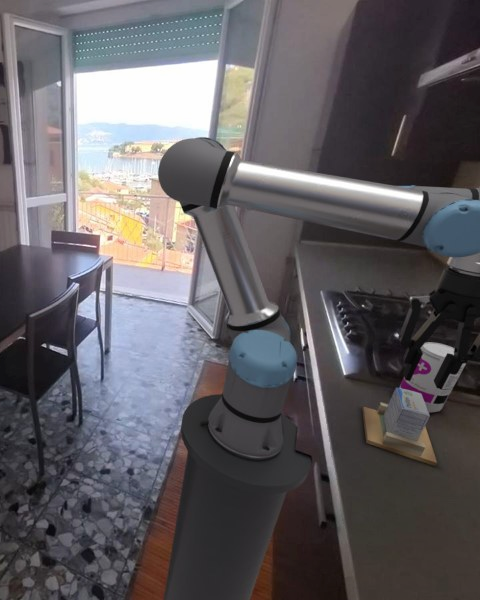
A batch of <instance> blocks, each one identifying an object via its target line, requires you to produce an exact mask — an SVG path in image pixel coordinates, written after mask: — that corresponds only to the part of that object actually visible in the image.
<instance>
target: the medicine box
mask: <svg viewBox="0 0 480 600" xmlns="http://www.w3.org/2000/svg"><path fill="white" fill-rule="evenodd" d="M387 404H388V406H387V409H386V411H385V413H384V416H383V418H384V423H385V427H386V431H387V432H389V433H392V434H395V435H398V436H401V437H404V438H408V439H411V440H414V441H418V439H419V437H420V435H421V433H422V431H423V429H424V427H426V425H427V423H428V421H429V419H430V416H431V415H430V413H429V412H428V409H427V407H426V404H425V402H424V399H423V396H422V394H421V393H417V392H414V391H410V390H406V389H402V388H399V387H395V388H394V390H393V393H392V395H391V397H390V400H389V402H388V403H387Z"/></svg>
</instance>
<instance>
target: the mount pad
mask: <svg viewBox="0 0 480 600" xmlns="http://www.w3.org/2000/svg"><path fill="white" fill-rule="evenodd" d="M388 404H389V403H385V402H380V403H379V404H378V407H377V409H373V408H369V407H366V406H363V407H362V409H361V411H362V419H363V428H364V434H365V435H364V436H365V443H366V444H368V445H371V446H373V447H377V448H380V449H383V450H386V451H388V452H392V453H394V454H398V455H400V456H403V457H407V458H409V459H412V460H415V461H419V462H421V463H424V464H426V465H429V466H433V467H436V466H437V464H438V461H437V457H436V455H435V452H434V448H433V446H432V445H433V444H432V442H431V439H430V437H429V436H430V435H429V434H428V430H427V427H426V426H425V427H424V429H423V431H422V433H421V435H420V437H419V439H418V441H414V440H411V439H408V438H404V437H401V436H398V435H395V434H392V433H389V432H387V431H386V427H385V423H384V418H383V416H384V413H385V411H386V409H387V406H388Z"/></svg>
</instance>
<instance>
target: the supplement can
mask: <svg viewBox="0 0 480 600" xmlns="http://www.w3.org/2000/svg"><path fill="white" fill-rule="evenodd" d="M454 348H455V347H452V346H451V345H447V344H444V343H439V342H432V341H431V342H430V341H428V342H427V341H426V342H425V343H424V345H423V346H422V347H421V350H422V353H423V355H422V357H421V359H420V361H419V363H418V365H417V368H416V370H415V372H414V374H413V376H412V378H411V380H410V381H407V380H405V378H404V377H403V378H402V380H401V382H400V384H399V386H398V388H402V389H406V390H410V391H414V392H417V393H421V394H422V396H423V399H424V402H425V404H426V407H427V409H428V412H429V414H430V413H437V412H440V411H442V409H443V408H444V405H445V404H446V402H447V400H448V398H449V396H450V394H451V393H452V391H453V390H454V387H455V385H456V383H457V382H458V380H459V378H460V376H461V374H462V372H463V370H464V368H465V366H466V365H467V363H464V364H462V366H461V368H460V370H459V372H458V373H457V374H456V375H454V374H450V375H449V376H448V378H447V380H446V382H445V384H444V386H443V388H442V389H439V388H436V385H435V383H434V379H435V377H436V375H437V373H438V371H439V369H440V367H441V365H442V363H443V361H444V359H445V357H446V355H447V353H449V354H453V355H454Z"/></svg>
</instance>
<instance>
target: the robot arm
mask: <svg viewBox="0 0 480 600" xmlns="http://www.w3.org/2000/svg"><path fill="white" fill-rule="evenodd" d="M158 164H159V165H158V169H157V177H158V182H159V185H160V188H161V190H162V191H163V192H164V193H165V195H167V196H168V197H169V199H172V200H174V201H176V202H178V203H179V204H180V208H181V211H182V213H183V214H185V215H187V216H190V217H191V218H192V219H193V221H194V223H195V226H196V229H197V232H198V234H199V237H200V239H201V242H202V244H203V247H204V250H205V253H206V255H207V258H208V260H209V262H210V265H211V268H212V271H213V273H214V276H215V279H216V281H217V284H218V287H219V289H220V292H221V295H222V297H223V300H224V303H225V305H226V308H227V311H228V313H227V314H226V316H225V318H224V321H225V324H226V327H227V329H228V332H229V335H230V338H231V340H232V344H231V345H230V348H229V353H228V363H227V367H226V368H227V369H226V373H225V378H224V382H223V383H224V384H223V387H222V393H221V394H222V397H221V398H220V400H219V401H218V403H217V404H216V405H215V407H214V408H213V410H212V411H211V413H210V415H209V418H208V420H207V421H200V423H201V426H203V425H207V427H208V432H209V434H210V436H211V438H212V439H213V440H214V442H215V443H216V444H217V445H218V446H219V447H221V448H222V449H223V450H225V451H226V452H228V453H230V454H232V455H234V456H236V457H238V458H241V459H244V460H249V461H259V462H260V461H268V460H271V459H273V458H275V457H276V456H278V455H279V453H280V452H281V449H282V446H283V439H284V436H283V433H284V431H283V427H282V423H281V413H282V412H283V409H284V406H285V403H286V399H287V396H288V392H289V390H290V386H291V383H292V380H293V377H294V374H295V372H296V369H297V359H298V356H297V351H296V349H295V346H294V345H293V344H292V343H291V337H292V335H291V330H290V326H289V324H288V323H287V322H286V320H285V318H284V317H283V316H282V313H281V310H280V306H279V305H278V304H277V303H276V302H274V301H271V300H269V298H268V296H267V294H266V290H265V288H264V285H263V282H262V279H261V276H260V274H259V271H258V268H257V265H256V262H255V260H254V256H253V254H252V252H251V248H250V245H249V243H248V240H247V237H246V234H245V232H244V229H243V226H242V223H241V220H240V217H239V214H238V212H237V209H236V208H240V209H246V210H250V211H256V212H260V213H264V214H269V215H274V216H279V217H283V218H288V219H293V220H299V221H303V222H308V223H311V224H317V225H322V226H327V227H331V228H337V229H341V230H346V231H352V232H355V233H360V234H364V235H370V236H375V237H379V238H383V239H388V240H393V241H397V242H401V243H404V244H410V245H414V246H419V247H424V248H426V249H428V250H429V251H431V252H432V253H434V254H438V255H440V256H444V257H448V259H447V261H446V264H447V265H448V266H447V267H444V269H443V271H442V272H441V275H440V277H439V279H438V281H437V284H436V286H435V288H434V289H433V290H432V291H430V292H429V294H428V295H426V294H425V295H418V296H417V295H416V294H411V295H409V296H408V300H409V308H408V311H407V314H406V316H405V319H404V322H403V325H402V327H401V330H400V331H399V336H398V340H399V343H400V345H401V346H403V347H406V351H405V352H404V355H403V357H402V359H403V362H404V364H406V365H405V368H404V370H403V372H402V374H403V378H405V380H407V381H410V380H411V378H412V376H413V374H414V372H415V370H416V368H417V365H418V363H419V361H420V359H421V357H422V355H423V353H422V350H421V347H422V346H423V345H424V343H427V341H428V340H429V339H430V338H431V337H432V335H433V334H434V333H435V332H436V330H437V329H439V327H440V326H441V325H442V324H444V323H445V322H446V321H447V320H454V321H457V322H458V325H457V331H456V337H455V342H454V347H453V348H454V355H453V354H449V353H447V355H446V357H445V359H444V361H443V363H442V365H441V367H440V369H439V371H438V373H437V375H436V377H435V379H434V383H435V385H436V388H439V389H442V388H443V386H444V384H445V382H446V380H447V378H448V376H449V375H450V374H454V375H456V374H457V373H458V372H459V370H460V368H461V366H462V364H464V363H466V364H467V363H468V362H469V361H474V362H480V332H479V333H478V334H477V336H476V338H475V340H474V341H473V343H472V345H471V347H469V346H470V343H471V337H472V331H473V329H474V328H475V327H474V326H475V321H476V319H478V318H480V185H479V186H478V187H471V188H469V187H467V188H461V187H460V188H459V187H444V186H443V187H441V186H422V185H421V186H420V185H416V184H411V185H393V184H386V183H380V182H374V181H369V180H363V179H357V178H350V177H344V176H339V175H333V174H326V173H321V172H315V171H309V170H303V169H298V168H291V167H285V166H280V165H274V164H267V163H261V162H257V161H256V162H255V161H250V160H244V159H242V158H241V157H240V155H239V153H238V152H236V151H230V150H227V149H226V148H225V146H224V145H223V144H222V143H221V142H219V140H216V139H214V138H211V137H206V136H198V137H192V138H191V137H190V138H185V139H181V140H179V141H176V142H175V143H173V144H172V145H171V146H170V147H169V148H168V149H166V151H165V152H164V153H163V155H162V157H161V159H160V161H159V163H158ZM428 303H430V304H431V306H432V308H433V310H432V311H431V312H430V314H429V317H428V318H427V319H426V320H425V322H424V323H423V324H422V325H421V326H420V328H419V329H418V330H417V332H415V328H416V327H417V323H418V321H419V318H420V316H421V312H422V309H424V308H425V307H426V306H427V304H428ZM414 332H415V334H414V335H413V333H414ZM282 414H283V413H282Z"/></svg>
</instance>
